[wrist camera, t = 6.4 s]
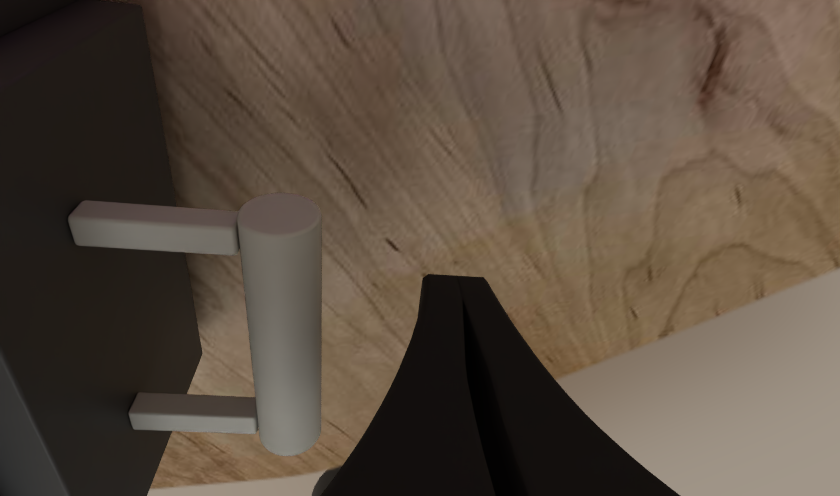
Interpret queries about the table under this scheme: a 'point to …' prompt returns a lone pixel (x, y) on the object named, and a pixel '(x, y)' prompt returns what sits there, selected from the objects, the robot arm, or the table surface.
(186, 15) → the table surface
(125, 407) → the drawer
